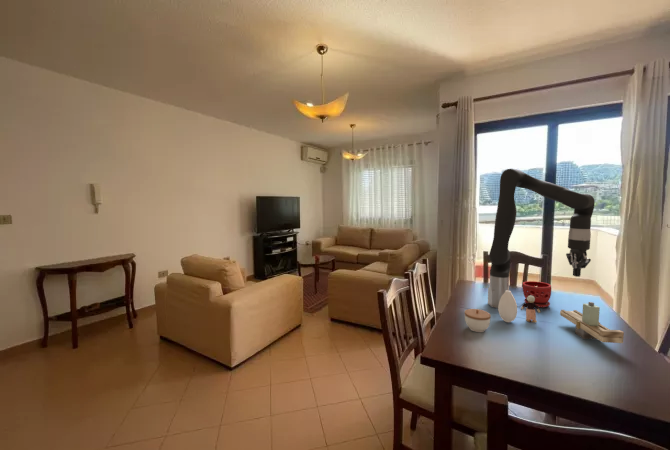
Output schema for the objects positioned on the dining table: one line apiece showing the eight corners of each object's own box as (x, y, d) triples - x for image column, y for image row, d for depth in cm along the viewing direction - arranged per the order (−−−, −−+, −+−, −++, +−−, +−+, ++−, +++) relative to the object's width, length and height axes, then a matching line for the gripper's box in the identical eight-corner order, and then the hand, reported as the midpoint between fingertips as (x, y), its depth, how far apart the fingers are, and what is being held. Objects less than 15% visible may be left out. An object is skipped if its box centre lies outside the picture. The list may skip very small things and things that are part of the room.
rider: (588, 325, 118) (589, 304, 117) (582, 321, 122) (583, 300, 121) (598, 325, 117) (599, 304, 116) (591, 321, 121) (592, 301, 120)
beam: (599, 351, 109) (601, 331, 108) (558, 322, 134) (559, 305, 134) (624, 353, 108) (625, 332, 107) (577, 323, 133) (578, 306, 132)
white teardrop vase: (518, 326, 132) (520, 288, 131) (500, 324, 135) (501, 287, 133) (514, 319, 140) (515, 283, 138) (496, 317, 142) (497, 282, 141)
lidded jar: (466, 322, 138) (467, 303, 137) (491, 327, 131) (492, 308, 131) (462, 330, 129) (462, 311, 128) (488, 337, 123) (489, 316, 122)
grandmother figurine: (538, 320, 138) (539, 295, 136) (540, 323, 134) (541, 297, 133) (519, 318, 141) (520, 293, 140) (521, 321, 137) (522, 295, 136)
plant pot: (549, 302, 160) (550, 282, 159) (551, 310, 149) (552, 288, 148) (521, 298, 167) (522, 279, 166) (522, 306, 156) (523, 285, 155)
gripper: (560, 236, 133) (558, 272, 135) (579, 240, 120) (577, 280, 122) (578, 236, 132) (575, 272, 133) (599, 240, 119) (596, 280, 120)
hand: (576, 276), depth 128 cm, fingers closed
